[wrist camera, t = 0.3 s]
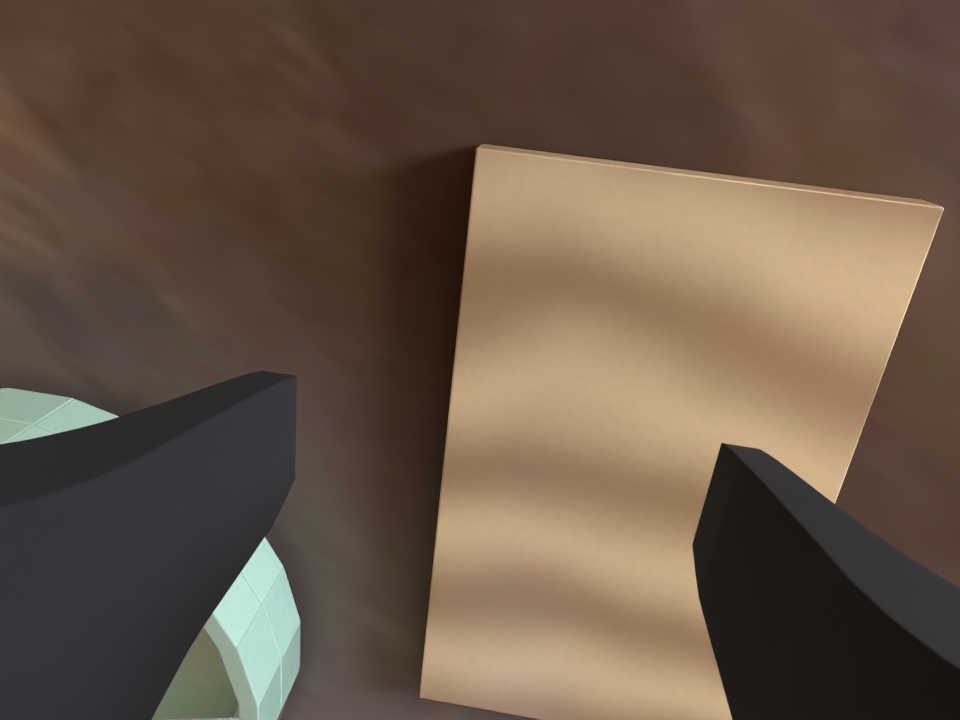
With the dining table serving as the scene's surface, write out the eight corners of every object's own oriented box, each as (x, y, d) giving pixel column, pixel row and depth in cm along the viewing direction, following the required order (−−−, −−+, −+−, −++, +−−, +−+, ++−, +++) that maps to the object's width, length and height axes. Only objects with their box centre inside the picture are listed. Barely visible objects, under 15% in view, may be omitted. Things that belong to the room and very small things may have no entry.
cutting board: (734, 728, 26) (741, 757, 25) (424, 672, 27) (418, 698, 26) (923, 199, 19) (945, 207, 17) (481, 143, 19) (475, 147, 18)
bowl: (303, 790, 31) (262, 902, 26) (-85, 715, 32) (-182, 811, 28) (309, 425, 23) (254, 500, 19) (-191, 346, 25) (-344, 400, 21)
